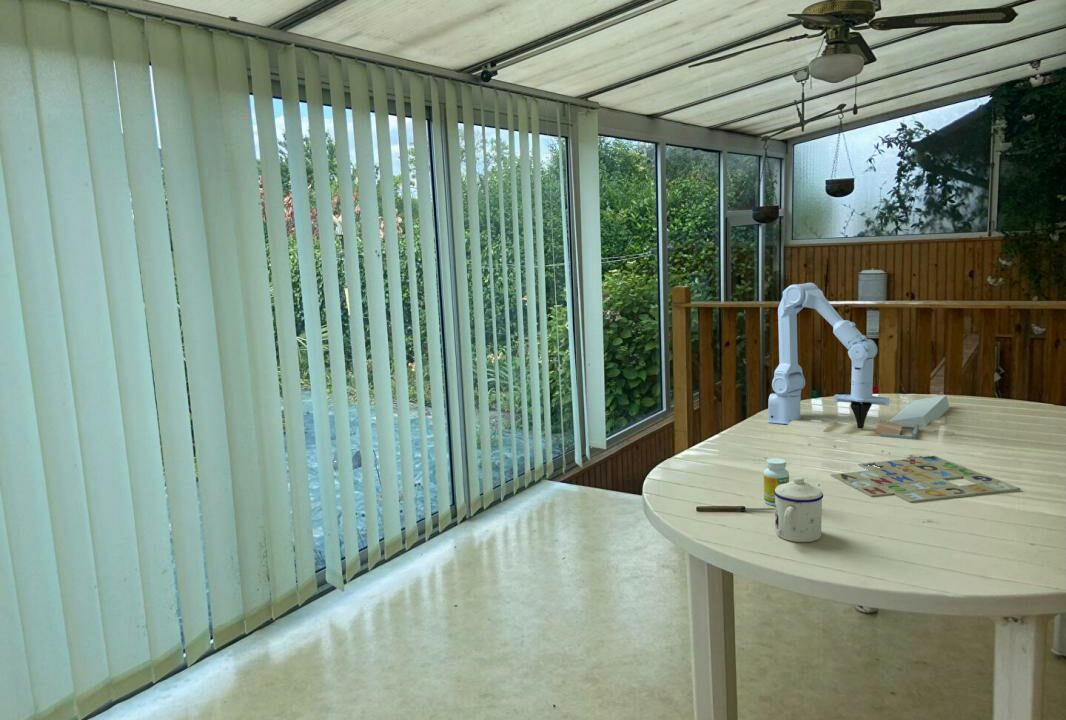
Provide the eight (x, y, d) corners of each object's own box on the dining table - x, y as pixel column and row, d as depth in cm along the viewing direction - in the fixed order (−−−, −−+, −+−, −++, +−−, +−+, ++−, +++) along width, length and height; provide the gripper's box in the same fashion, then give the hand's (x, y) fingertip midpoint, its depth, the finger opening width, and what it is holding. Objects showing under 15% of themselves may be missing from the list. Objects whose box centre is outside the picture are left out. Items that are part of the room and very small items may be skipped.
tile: (875, 432, 212) (878, 424, 212) (878, 427, 218) (880, 419, 217) (897, 439, 210) (900, 430, 209) (900, 434, 215) (902, 426, 214)
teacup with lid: (782, 522, 153) (782, 468, 152) (827, 531, 148) (829, 474, 146) (762, 542, 144) (762, 485, 142) (810, 552, 139) (811, 492, 137)
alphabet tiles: (934, 459, 193) (934, 454, 193) (1021, 493, 166) (1021, 487, 166) (817, 471, 188) (817, 466, 187) (887, 508, 161) (887, 502, 160)
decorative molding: (892, 436, 225) (927, 432, 219) (887, 421, 225) (923, 416, 219) (917, 414, 251) (950, 409, 245) (913, 400, 251) (946, 395, 245)
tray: (879, 441, 209) (879, 430, 209) (884, 431, 220) (884, 421, 219) (915, 444, 205) (915, 433, 204) (918, 434, 215) (919, 423, 214)
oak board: (823, 436, 217) (823, 431, 217) (830, 427, 227) (830, 422, 227) (879, 441, 209) (879, 436, 209) (884, 431, 220) (884, 426, 219)
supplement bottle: (773, 496, 169) (774, 455, 168) (794, 502, 165) (794, 460, 163) (758, 502, 166) (758, 460, 164) (778, 508, 162) (779, 465, 160)
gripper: (832, 382, 215) (831, 428, 218) (888, 386, 208) (886, 433, 210) (837, 378, 221) (835, 422, 223) (890, 381, 214) (889, 427, 216)
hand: (860, 427), depth 217 cm, fingers closed
